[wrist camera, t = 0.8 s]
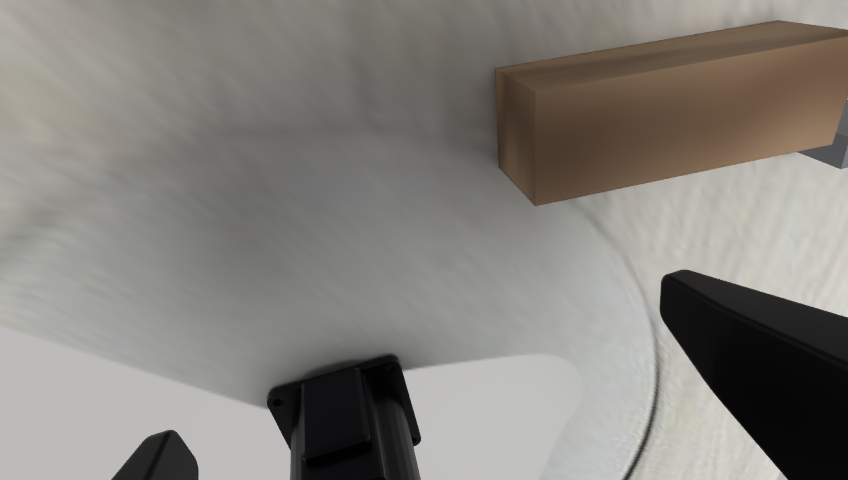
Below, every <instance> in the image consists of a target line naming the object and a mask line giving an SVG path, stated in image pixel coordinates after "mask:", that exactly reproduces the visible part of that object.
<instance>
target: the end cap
mask: <svg viewBox="0 0 848 480" xmlns="http://www.w3.org/2000/svg"><path fill="white" fill-rule="evenodd" d="M798 152H799V153H801V154H804V155H806V156H809V157H811V158H814V159H816V160H819V161H821V162H824V163H827V164H829V165H832V166H834V167H837V168H839V169H843V168H847V167H848V101H846V103H845V106H844V109H843V112H842V115H841V118H840V121H839V125H838V128H837V131H836V134H835V137H834V140H833V143H832V144H831V145H826V146H822V147H817V148H812V149H807V150H802V151H798Z"/></svg>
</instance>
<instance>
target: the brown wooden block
mask: <svg viewBox="0 0 848 480" xmlns="http://www.w3.org/2000/svg"><path fill="white" fill-rule="evenodd" d="M495 77H496V103H497V130H498V156H499V168H500V169H501V170H502V171H503V172H504V173H505V174H506V176H507V177H508V178H509V179H510V180H511V181H512V182H513V183H514V184H515V185H516V186H517V187H518V188H519V189H520V190H521V191H522V193H523V194H524V195H525V196H526V197H527V198H528V199H529V200H530V201H531V202H532V203H533V204H534V205H535V206H538V205H543V204H548V203H552V202H557V201H562V200H567V199H572V198H576V197H581V196H586V195H591V194H596V193H600V192H605V191H610V190H615V189H620V188H624V187H629V186H634V185H639V184H644V183H648V182H653V181H658V180H663V179H668V178H673V177H677V176H682V175H687V174H692V173H697V172H701V171H706V170H711V169H716V168H721V167H725V166H730V165H735V164H740V163H745V162H749V161H754V160H759V159H764V158H769V157H773V156H778V155H783V154H788V153H793V152H798V151H802V150H807V149H812V148H817V147H822V146H826V145H831V144H832V143H833V140H834V137H835V134H836V131H837V128H838V125H839V121H840V118H841V115H842V112H843V109H844V106H845V103H846V100H847V97H848V30H846V29H838V28H831V27H823V26H816V25H808V24H801V23H794V22H786V21H779V20H778V21H772V22H766V23H760V24H754V25H748V26H742V27H737V28H731V29H725V30H719V31H713V32H707V33H701V34H695V35H689V36H684V37H678V38H672V39H666V40H660V41H654V42H648V43H642V44H636V45H631V46H625V47H619V48H613V49H607V50H601V51H595V52H589V53H583V54H578V55H572V56H566V57H560V58H554V59H548V60H542V61H536V62H530V63H524V64H519V65H513V66H507V67H501V68H495Z"/></svg>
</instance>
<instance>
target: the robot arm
mask: <svg viewBox="0 0 848 480" xmlns="http://www.w3.org/2000/svg"><path fill="white" fill-rule="evenodd" d="M660 314H661V317H662V319H663V321H664V323H665V325H666V326H667V327H668V329H669V330H670V332H671V333H672V335H673V336H674V338H675V339H676V340H677V342H678V343H679V345H680V346H681V348H682V349H683V351H684V352H685V353H686V355H687V356H688V358H689V359H690V361H691V362H692V363H693V365H694V366H695V368H696V369H697V371H698V372H699V374H700V375H701V376H702V378H703V379H704V381H705V382H706V383H707V385H708V386H709V387H710V389H711V390H712V391H713V392H714V394H715V395H716V396H717V397H718V399H719V400H720V401H721V402H722V403H723V405H724V406H725V407H726V408H727V409H728V410H729V412H730V413H731V414H732V415H733V416H734V417H735V419H736V420H737V421H738V422H739V423H740V424H741V426H742V427H743V428H744V429H745V430H746V431H747V433H748V434H749V435H750V436H751V437H752V438H753V440H754V441H755V442H756V443H757V444H758V445H759V447H760V448H761V449H762V450H763V451H764V452H765V454H766V455H767V456H768V457H769V458H770V459H771V461H772V462H773V463H774V464H775V465H776V466H777V468H778V469H779V470H780V471H781V472H782V473H783V475H784V476H785V477H786V478H787V479H788V480H848V318H847V317H844V316H841V315H837V314H834V313H831V312H827V311H824V310H821V309H817V308H814V307H811V306H807V305H804V304H800V303H797V302H794V301H790V300H787V299H784V298H780V297H777V296H774V295H770V294H767V293H764V292H760V291H757V290H754V289H750V288H747V287H743V286H740V285H737V284H733V283H730V282H727V281H723V280H720V279H717V278H713V277H710V276H707V275H703V274H700V273H697V272H693V271H690V270H679V271H676V272H673V273H670V274H667V275H665V276H664V277H663V278H662V280H661V294H660ZM388 366H392V367H390V368H387V367H388ZM275 399H281V400H275ZM267 406H268V408H269V409H270V411H271V413H272V415H273V417H274V419H275V421H276V423H277V425H278V427H279V429H280V431H281V433H282V435H283V437H284V439H285V441H286V443H287V444H288V446H289V448H290V450H291V475H290V480H421V478H420V474H419V470H418V466H417V461H416V457H415V453H414V448H413V447H414V446H416V445H418V444H419V443H420V441H421V436H420V432H419V429H418V425H417V421H416V418H415V414H414V411H413V407H412V404H411V400H410V397H409V393H408V390H407V386H406V383H405V379H404V376H403V372H402V369H401V365H400V362H399V360H398V358H396V357H394V356H387V357H384V358H380V359H377V360H373V361H370V362H366V363H363V364H360V365H356V366H353V367H349V368H346V369H342V370H339V371H335V372H332V373H329V374H325V375H322V376H318V377H315V378H311V379H308V380H304V381H301V382H298V383H294V384H291V385H287V386H284V387H280V388H277V389H274V390H272V391H270V392H269V393H268V396H267ZM111 480H198V465H197V462H196V459H195V457H194V456H193V454H192V453H191V451H190V450H189V449H188V447H187V446H186V444H185V443H184V441H183V440H182V439H181V437H180V436H179V434H178V433H177V432H176V431H174V430H167V431H164V432H161V433H157V434H155V435H151V436H149V437H148V438H146V439H145V440H144V441H143V442H142V444H141V445H140V446H139V447H138V448H137V449H136V451H135V452H134V453H133V454H132V455H131V457H130V458H129V459H128V460H127V462H126V463H125V464H124V465H123V466H122V468H121V469H120V470H119V471H118V472H117V474H116V475H115V476H114V477H113V478H112V479H111Z"/></svg>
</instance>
